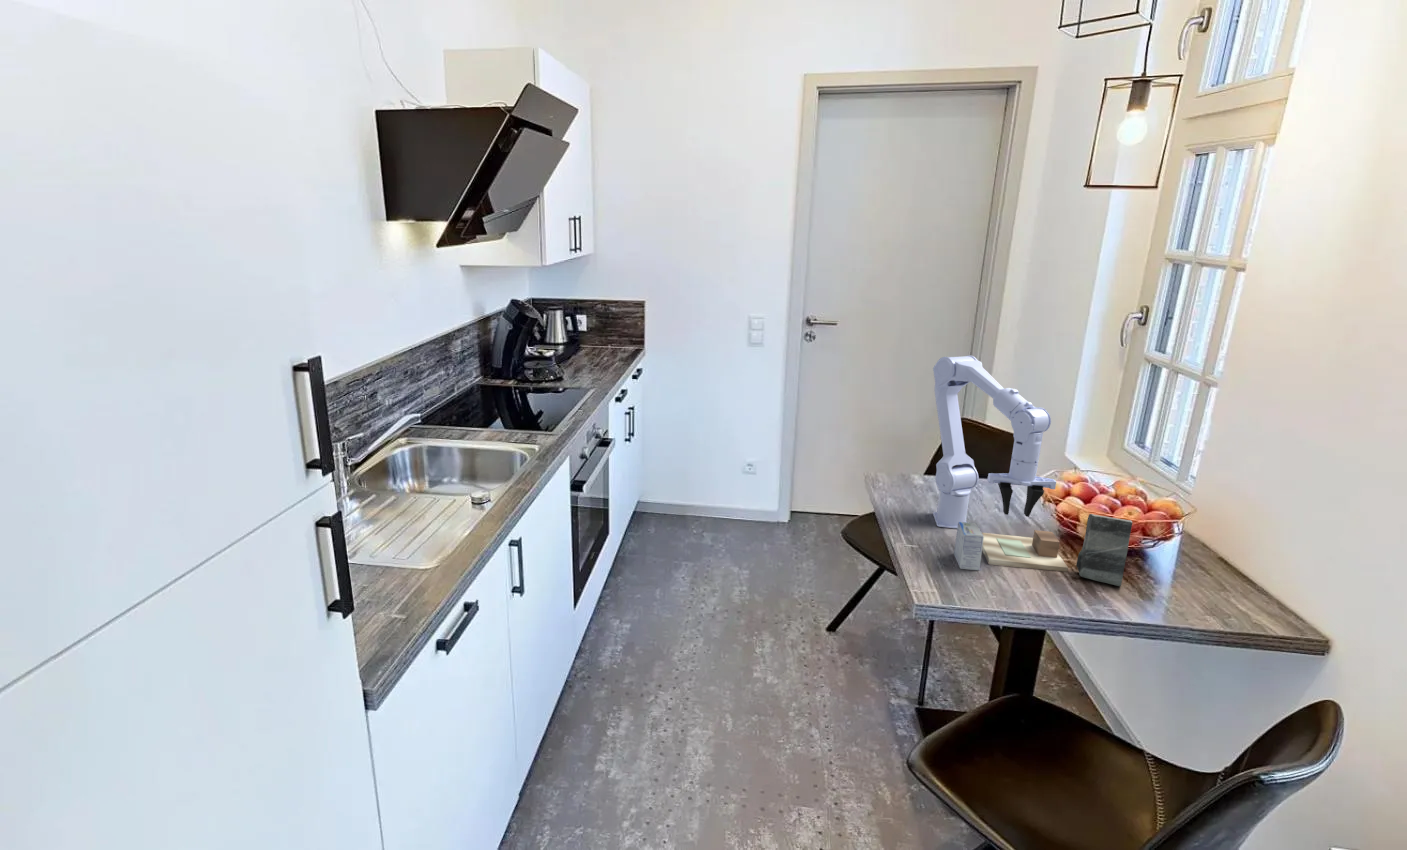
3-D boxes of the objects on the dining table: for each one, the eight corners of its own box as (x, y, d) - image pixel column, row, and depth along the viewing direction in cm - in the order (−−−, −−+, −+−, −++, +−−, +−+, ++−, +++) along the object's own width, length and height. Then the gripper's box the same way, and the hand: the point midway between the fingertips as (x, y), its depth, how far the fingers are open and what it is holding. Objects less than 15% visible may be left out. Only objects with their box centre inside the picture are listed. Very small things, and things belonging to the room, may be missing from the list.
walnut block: (1031, 545, 168) (1034, 530, 167) (1049, 547, 167) (1052, 531, 166) (1038, 555, 162) (1041, 540, 161) (1056, 557, 161) (1059, 542, 160)
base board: (975, 537, 175) (976, 531, 175) (1046, 544, 172) (1047, 538, 172) (988, 565, 160) (989, 558, 159) (1067, 573, 157) (1068, 566, 156)
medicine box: (979, 571, 157) (984, 536, 154) (958, 569, 157) (963, 534, 155) (972, 556, 164) (977, 522, 162) (953, 554, 165) (957, 520, 163)
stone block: (1075, 573, 157) (1074, 576, 153) (1086, 511, 157) (1086, 512, 153) (1120, 584, 153) (1120, 587, 148) (1131, 520, 153) (1133, 521, 148)
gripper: (995, 461, 157) (987, 517, 161) (1063, 467, 155) (1053, 523, 158) (989, 452, 164) (981, 506, 167) (1054, 458, 161) (1045, 512, 165)
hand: (1016, 514), depth 163 cm, fingers open, 4 cm apart
